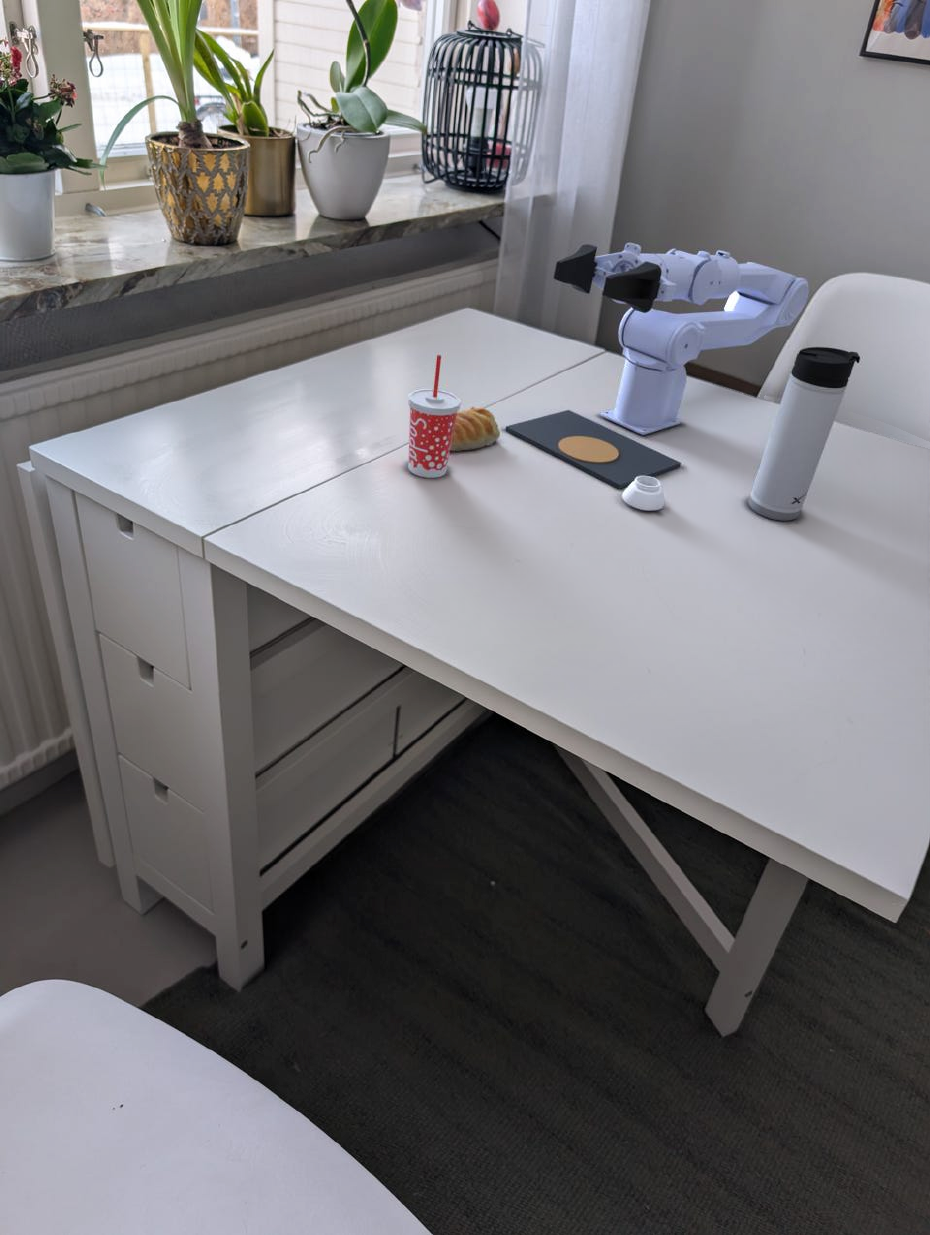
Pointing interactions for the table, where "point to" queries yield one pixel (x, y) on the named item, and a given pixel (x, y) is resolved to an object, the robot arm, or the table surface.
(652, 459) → the mat
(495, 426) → the pastry
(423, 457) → the beverage cup
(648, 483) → the lidless jar
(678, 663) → the table surface
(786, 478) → the travel mug
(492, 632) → the table surface
